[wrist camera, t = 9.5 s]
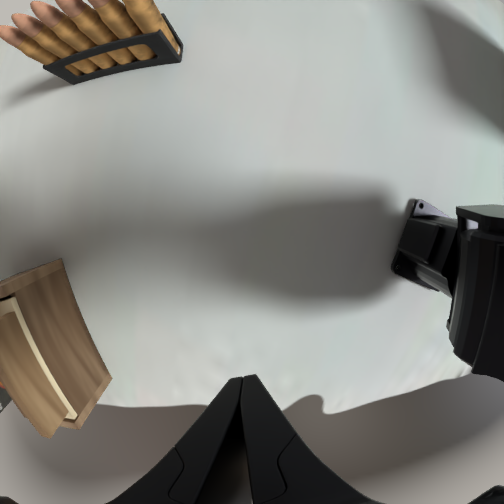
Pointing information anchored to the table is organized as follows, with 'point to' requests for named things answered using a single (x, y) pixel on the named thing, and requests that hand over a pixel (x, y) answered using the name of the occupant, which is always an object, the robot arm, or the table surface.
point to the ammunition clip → (94, 37)
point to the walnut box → (59, 336)
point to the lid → (29, 373)
